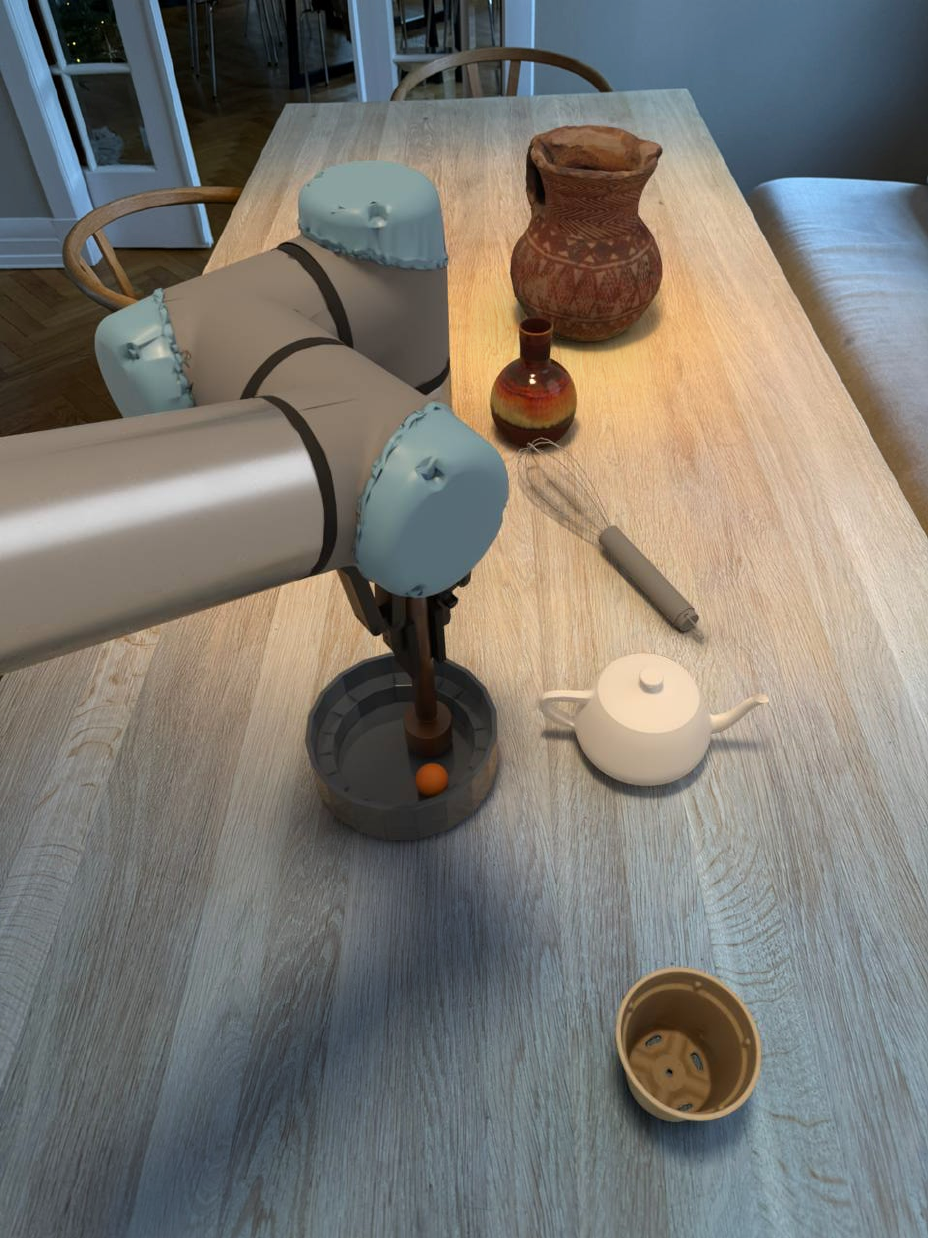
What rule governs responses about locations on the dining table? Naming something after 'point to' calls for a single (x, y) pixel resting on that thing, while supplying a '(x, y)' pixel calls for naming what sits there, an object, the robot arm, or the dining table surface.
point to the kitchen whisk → (628, 556)
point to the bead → (431, 780)
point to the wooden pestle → (425, 693)
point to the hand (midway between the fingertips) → (420, 659)
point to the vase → (533, 391)
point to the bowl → (399, 749)
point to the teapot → (643, 719)
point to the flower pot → (687, 1045)
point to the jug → (587, 232)
